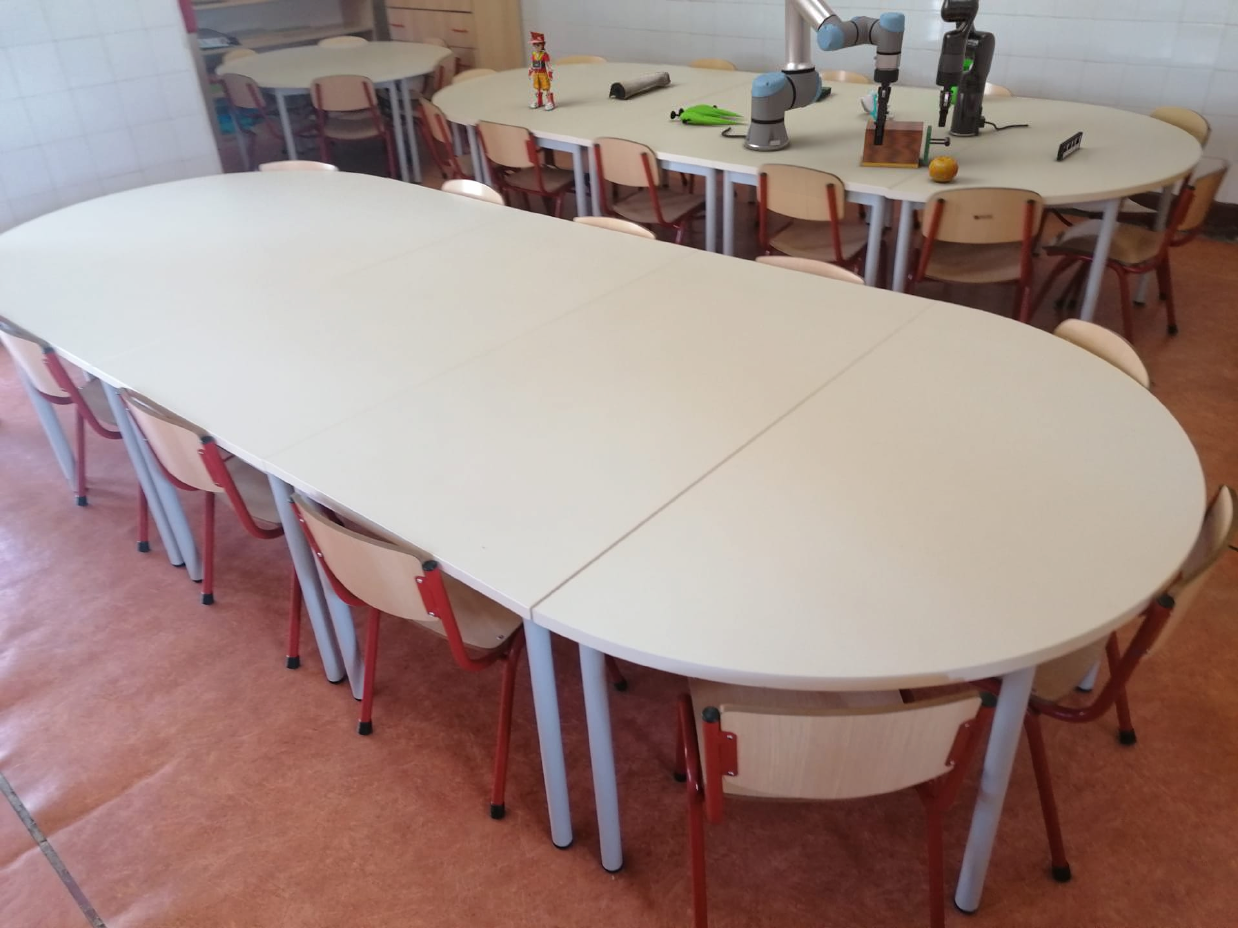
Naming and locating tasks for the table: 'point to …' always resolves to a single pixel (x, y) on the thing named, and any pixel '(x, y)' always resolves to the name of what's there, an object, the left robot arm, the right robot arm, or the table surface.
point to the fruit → (943, 169)
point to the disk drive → (824, 92)
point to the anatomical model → (872, 105)
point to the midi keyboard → (1069, 145)
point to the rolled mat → (638, 84)
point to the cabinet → (893, 144)
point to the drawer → (927, 144)
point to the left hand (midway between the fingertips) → (879, 140)
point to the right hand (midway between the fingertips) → (941, 126)
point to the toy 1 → (541, 71)
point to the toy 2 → (704, 115)
